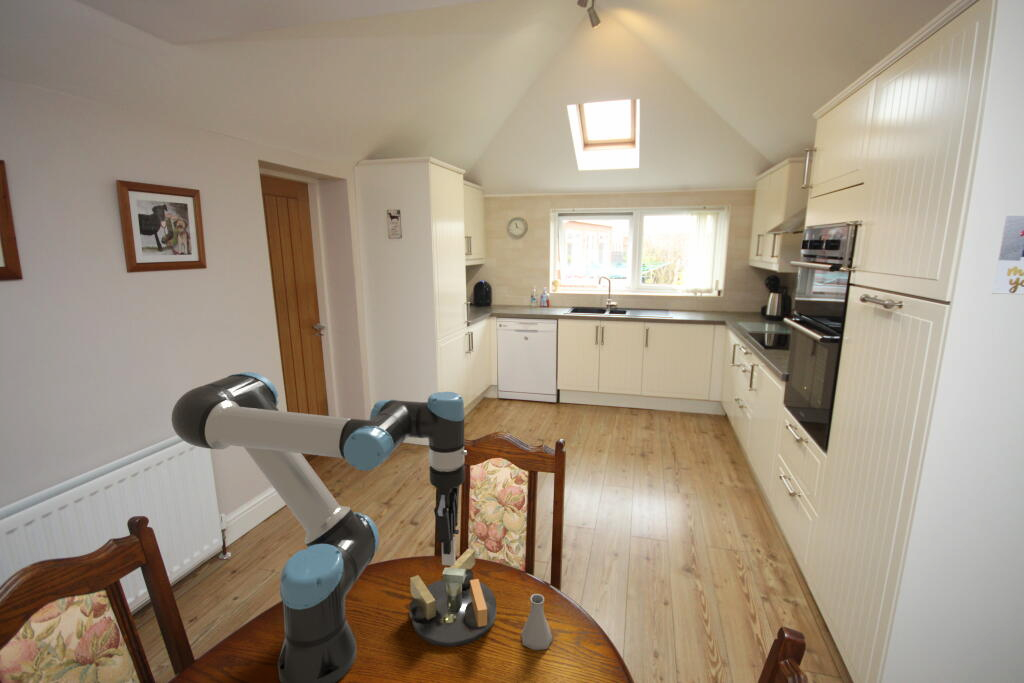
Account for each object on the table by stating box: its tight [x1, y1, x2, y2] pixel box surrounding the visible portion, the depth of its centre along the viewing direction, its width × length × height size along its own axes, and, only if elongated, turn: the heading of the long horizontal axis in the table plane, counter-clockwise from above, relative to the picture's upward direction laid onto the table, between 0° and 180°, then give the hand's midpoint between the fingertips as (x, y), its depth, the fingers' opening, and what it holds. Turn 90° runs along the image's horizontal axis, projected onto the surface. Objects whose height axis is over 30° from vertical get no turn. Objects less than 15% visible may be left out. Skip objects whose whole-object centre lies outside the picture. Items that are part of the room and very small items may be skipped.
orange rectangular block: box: [465, 578, 491, 629], centre depth 108 cm, size 10×6×6 cm, turn 15°
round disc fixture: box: [409, 547, 497, 648], centre depth 113 cm, size 20×22×11 cm
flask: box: [520, 593, 554, 651], centre depth 105 cm, size 7×7×10 cm
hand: (448, 563), depth 106 cm, fingers closed
